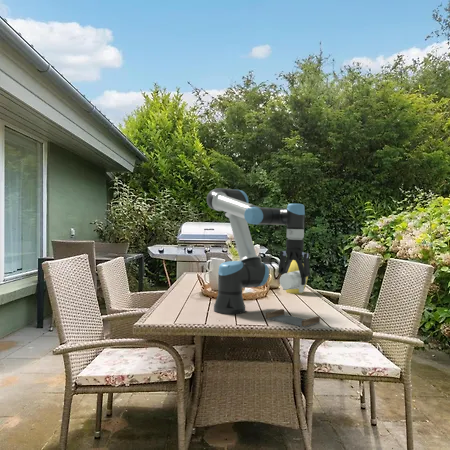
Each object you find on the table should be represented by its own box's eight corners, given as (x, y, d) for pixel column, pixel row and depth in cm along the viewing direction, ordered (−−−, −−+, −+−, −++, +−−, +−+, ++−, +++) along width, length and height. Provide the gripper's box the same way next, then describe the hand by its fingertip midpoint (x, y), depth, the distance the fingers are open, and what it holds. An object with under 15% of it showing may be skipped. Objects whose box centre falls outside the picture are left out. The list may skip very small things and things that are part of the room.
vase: (292, 289, 265) (294, 246, 265) (313, 293, 253) (314, 248, 253) (276, 291, 255) (277, 246, 254) (296, 295, 242) (297, 248, 242)
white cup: (296, 285, 170) (309, 283, 178) (288, 268, 173) (301, 267, 181) (283, 293, 175) (295, 291, 182) (275, 277, 178) (288, 275, 185)
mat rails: (265, 317, 181) (266, 312, 181) (281, 313, 190) (281, 309, 190) (304, 326, 167) (304, 321, 167) (319, 321, 176) (319, 316, 176)
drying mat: (265, 318, 181) (265, 317, 181) (281, 314, 190) (281, 313, 190) (304, 327, 167) (304, 326, 167) (319, 322, 176) (319, 321, 176)
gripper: (271, 237, 183) (269, 288, 183) (310, 240, 169) (308, 295, 169) (280, 237, 188) (279, 287, 188) (320, 240, 174) (318, 293, 174)
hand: (293, 290), depth 179 cm, fingers closed on white cup, 7 cm apart
